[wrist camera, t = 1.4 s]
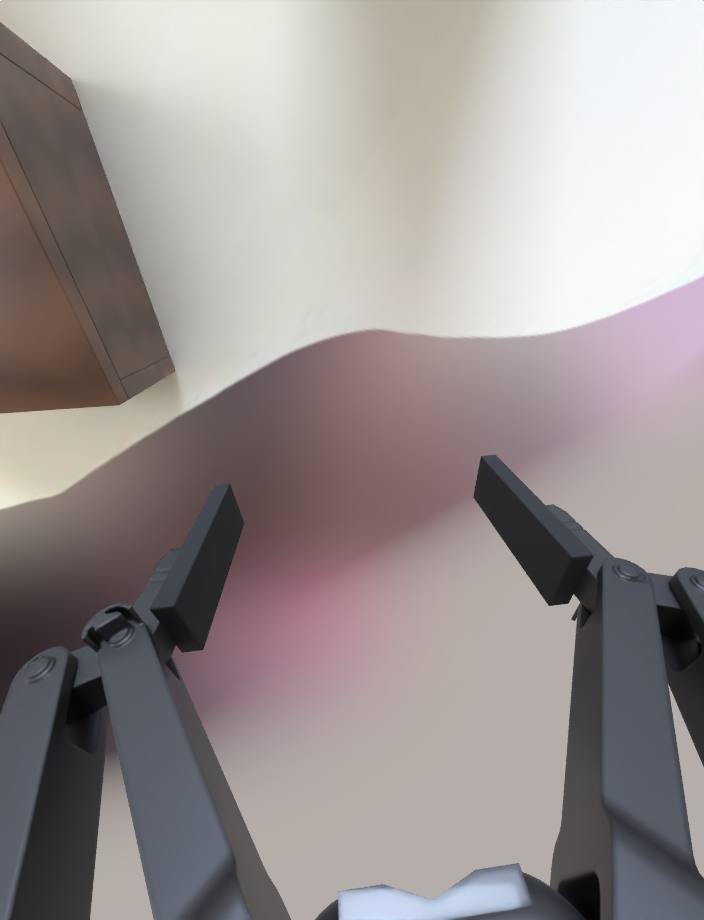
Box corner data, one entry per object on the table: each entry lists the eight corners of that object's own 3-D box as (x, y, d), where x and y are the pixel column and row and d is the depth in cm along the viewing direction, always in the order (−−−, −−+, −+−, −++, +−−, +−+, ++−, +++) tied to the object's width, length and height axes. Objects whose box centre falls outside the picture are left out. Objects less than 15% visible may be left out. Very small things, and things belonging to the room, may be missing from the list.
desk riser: (-132, 81, 23) (-477, -69, 13) (71, 78, 23) (-110, -67, 14) (45, 379, 35) (-63, 418, 25) (175, 371, 35) (119, 405, 26)
